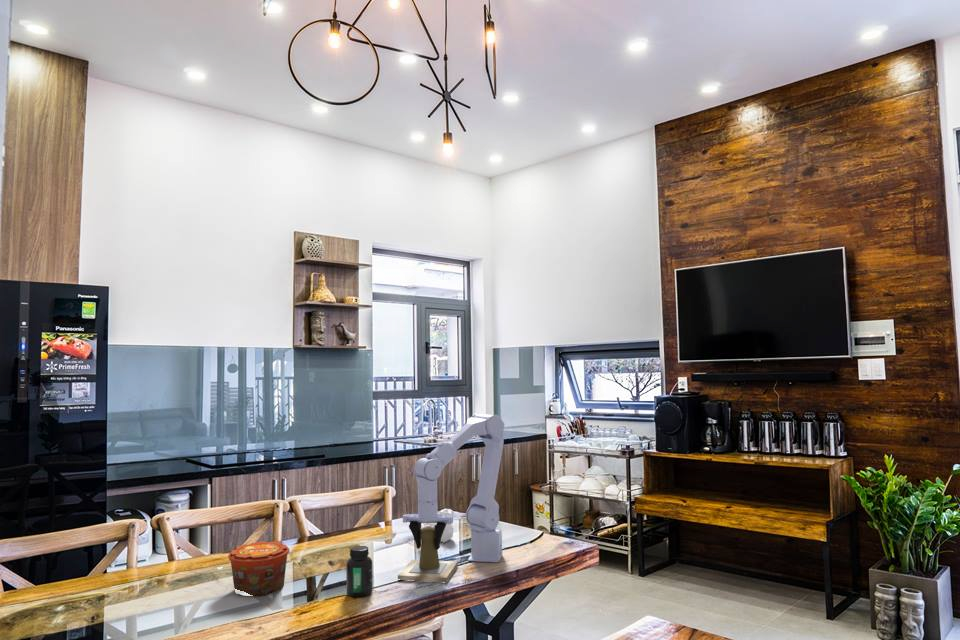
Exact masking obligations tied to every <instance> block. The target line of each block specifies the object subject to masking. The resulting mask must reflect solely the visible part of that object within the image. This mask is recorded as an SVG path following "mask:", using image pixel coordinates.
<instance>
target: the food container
mask: <svg viewBox="0 0 960 640" xmlns="http://www.w3.org/2000/svg"><path fill="white" fill-rule="evenodd" d="M289 554H290V548H289V547H288V546H287V544H285V543H284V544H283V543H282V542H279V541H270V542H267V541H255V542H251V543H249V544H242V545H239V546H237V547H236V546H235V548H234V549H233V550H231V551H230V552H229V553H228V555H227V557H228V560H229V561H230V567H231V575H232V581H233V582H232V583H233V589H234V588H235V589H237V590H240V591H244V592H246V593H248V594H250V595H253V596H255V597H256V596H257V597H262V596H268V595H270V594H275V593H277V592H278V591H280V590H282V589H283V587H284V586H285V578H286V568H287V560H288V555H289Z"/></svg>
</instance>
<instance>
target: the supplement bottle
mask: <svg viewBox="0 0 960 640" xmlns="http://www.w3.org/2000/svg"><path fill="white" fill-rule="evenodd" d="M369 554H370V553H369V547H368V546H367V545H355V546H352V547H350V549H349V558H348V559H347V561H346V565H345V573H346V575H345V577H346V578H345V579H346V582H345V583H346V585H345V586H346V595H347V596H348V598H352V599H362V598H367V597H369V596H370V595H372V593H373V586H374V585H373V582H374V581H373V577H374V575H373V560H372V558H371V557H370V556H369Z"/></svg>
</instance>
